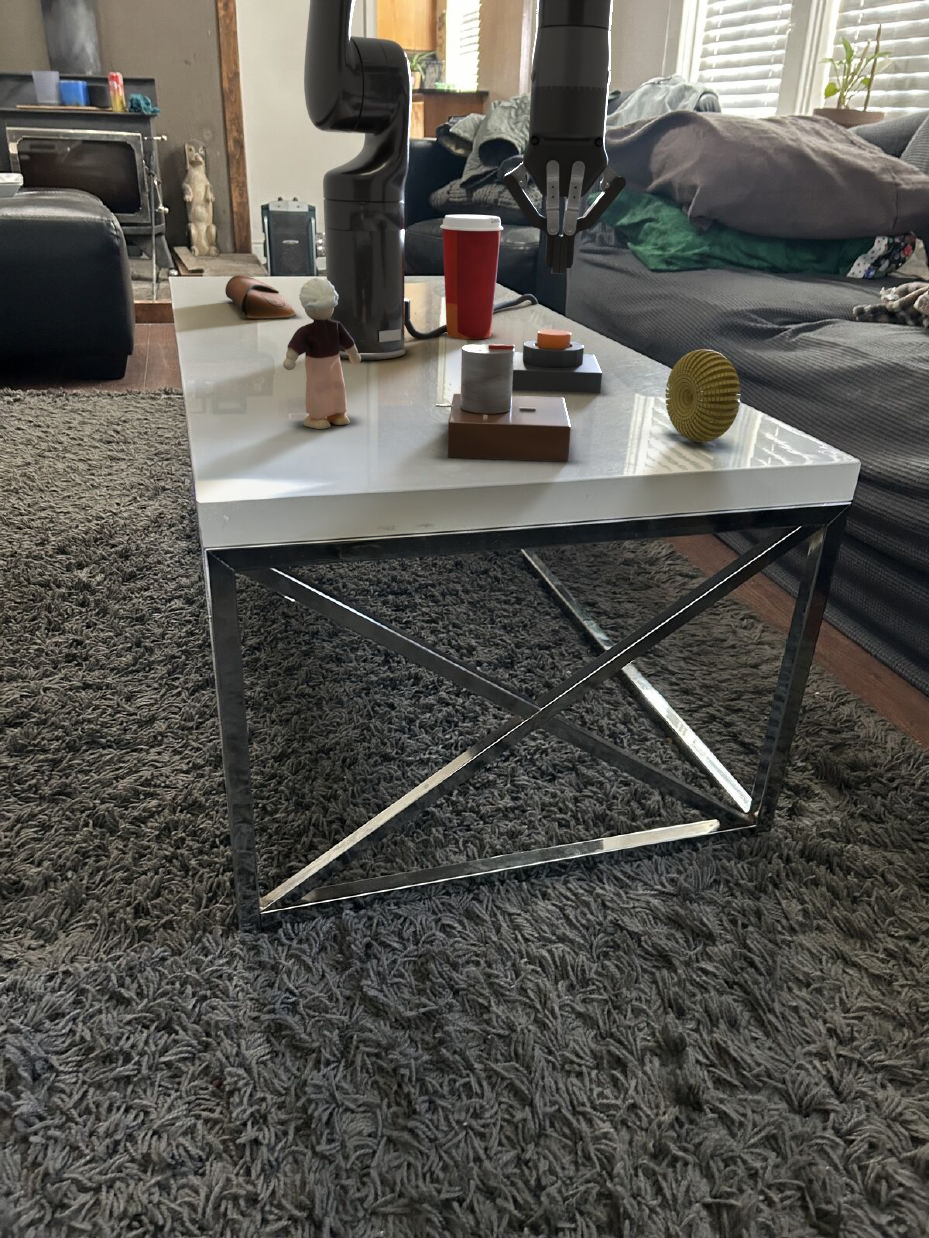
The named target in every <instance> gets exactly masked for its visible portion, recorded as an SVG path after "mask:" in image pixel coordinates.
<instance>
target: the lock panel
mask: <svg viewBox="0 0 929 1238" xmlns="http://www.w3.org/2000/svg"><path fill="white" fill-rule="evenodd" d="M460 400H461V393H453V396H452V401H451V404H449V403H444V404H443V403H436V404H435V407H436V408H450V411H449V416H448V420H447V421H448V422H447V425H448V426H447V458H459V459H484V460H485V459H487V460H511V461H512V460H513V461H537V462H539V461H540V462H541V461H542V462H569V456H570V455H569V454H570V443H571V429H572V427H571V422H570V419H569V414H568V411H567V405H566V402H565V398H564V397H561V396H559V397H558V396H557V397H556V396H531V395H512V405H511V410H509V411H507V412H504V413H497V414H481V413H473V412H469V411H465V410H463V409H462V408H461V407H460Z"/></svg>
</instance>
